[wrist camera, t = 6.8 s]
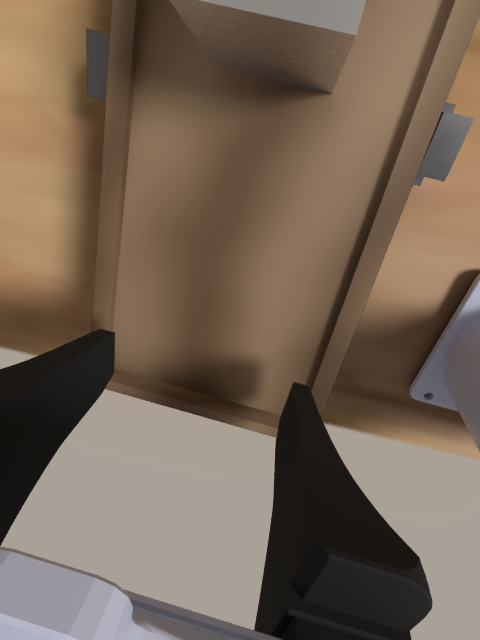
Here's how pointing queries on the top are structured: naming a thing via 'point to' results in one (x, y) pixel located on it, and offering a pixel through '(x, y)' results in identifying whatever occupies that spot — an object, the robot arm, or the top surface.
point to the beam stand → (433, 164)
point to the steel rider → (276, 37)
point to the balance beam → (256, 204)
